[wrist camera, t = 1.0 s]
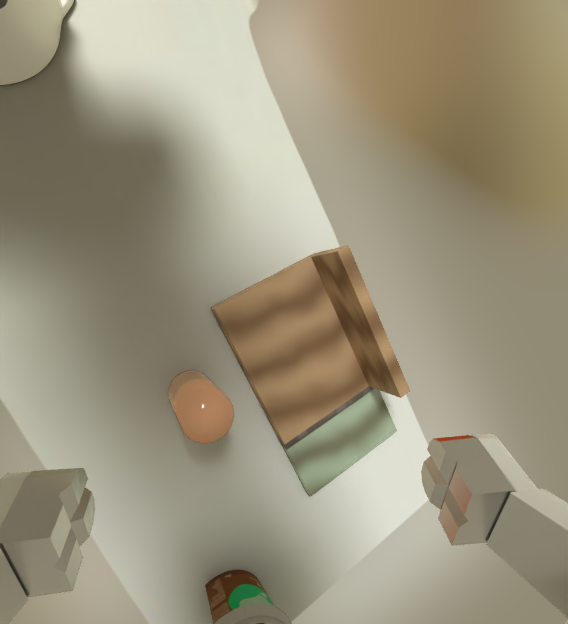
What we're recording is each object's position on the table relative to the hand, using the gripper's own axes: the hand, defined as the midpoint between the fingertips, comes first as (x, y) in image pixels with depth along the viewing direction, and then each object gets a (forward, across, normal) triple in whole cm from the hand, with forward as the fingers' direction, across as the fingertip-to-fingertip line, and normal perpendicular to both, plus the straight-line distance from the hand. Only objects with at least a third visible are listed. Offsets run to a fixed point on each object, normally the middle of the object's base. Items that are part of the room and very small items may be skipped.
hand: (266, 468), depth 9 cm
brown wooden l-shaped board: (+36, -10, +26) cm, 46 cm away
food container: (+22, 0, +50) cm, 54 cm away
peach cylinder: (+32, +6, +25) cm, 41 cm away
